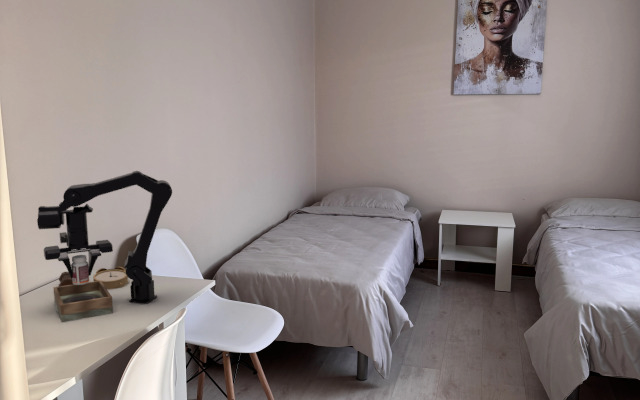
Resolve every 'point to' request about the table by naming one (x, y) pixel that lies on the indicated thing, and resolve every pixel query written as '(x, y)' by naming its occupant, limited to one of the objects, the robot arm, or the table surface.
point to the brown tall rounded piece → (65, 279)
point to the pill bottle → (80, 270)
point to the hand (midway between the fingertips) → (80, 276)
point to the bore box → (82, 300)
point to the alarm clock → (112, 277)
